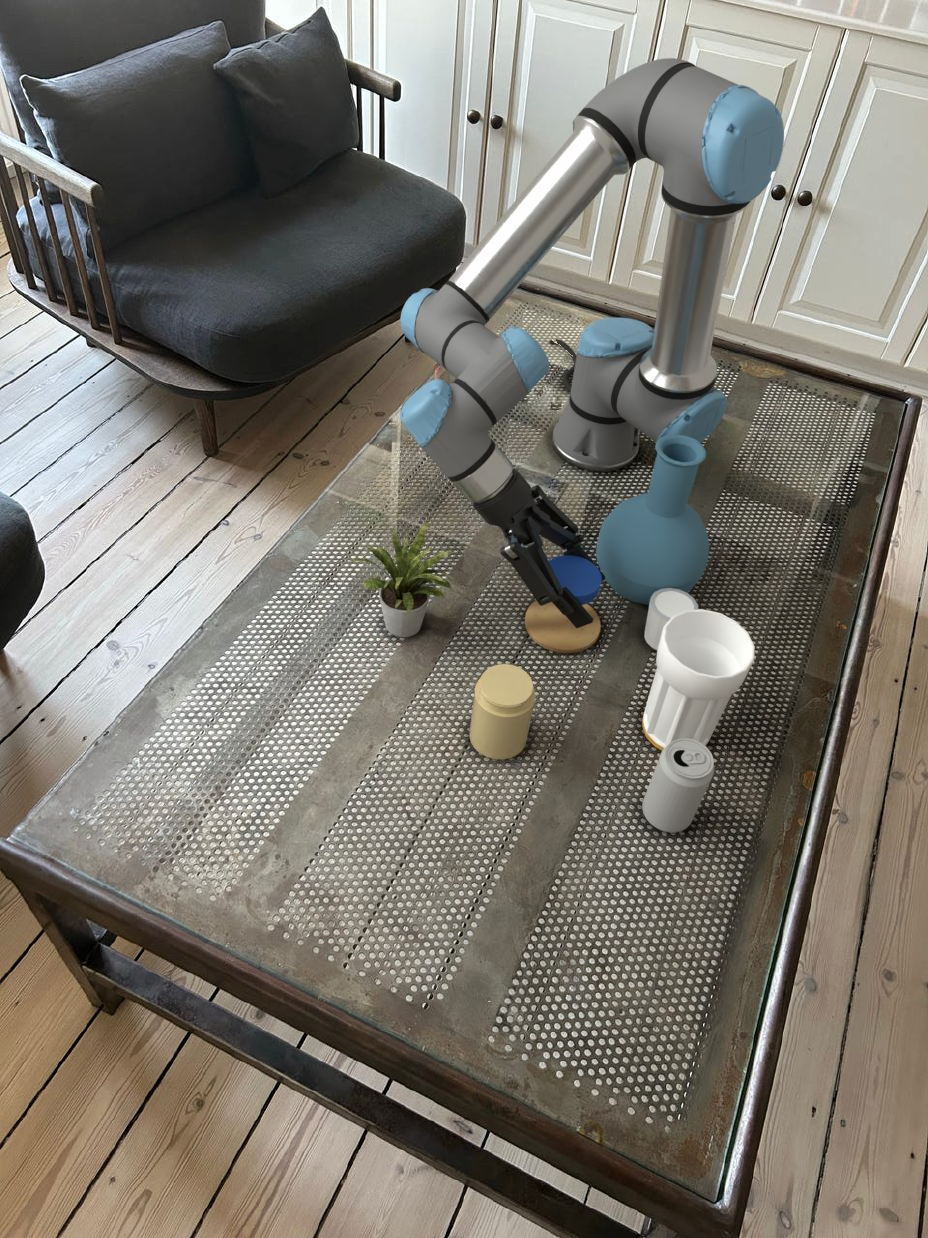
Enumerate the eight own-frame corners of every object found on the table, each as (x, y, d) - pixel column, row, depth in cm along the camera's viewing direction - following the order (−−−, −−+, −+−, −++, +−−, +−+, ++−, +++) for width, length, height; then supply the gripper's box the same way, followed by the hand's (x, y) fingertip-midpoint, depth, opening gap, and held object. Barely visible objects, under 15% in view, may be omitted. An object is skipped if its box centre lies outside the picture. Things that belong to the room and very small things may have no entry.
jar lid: (611, 589, 137) (614, 579, 136) (571, 615, 133) (573, 605, 132) (569, 557, 141) (571, 547, 140) (529, 581, 137) (530, 571, 136)
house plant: (370, 679, 134) (371, 595, 122) (331, 611, 142) (329, 526, 130) (463, 647, 139) (473, 563, 127) (421, 583, 147) (426, 499, 135)
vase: (708, 566, 154) (754, 435, 136) (679, 635, 143) (725, 503, 125) (609, 531, 158) (641, 400, 140) (574, 596, 147) (603, 462, 129)
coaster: (512, 607, 145) (513, 604, 144) (578, 591, 148) (579, 587, 148) (545, 661, 138) (545, 657, 137) (613, 642, 142) (614, 638, 141)
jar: (460, 721, 130) (466, 669, 122) (512, 706, 132) (521, 654, 124) (483, 766, 125) (490, 715, 117) (536, 750, 128) (547, 699, 120)
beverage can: (636, 792, 124) (656, 735, 115) (685, 790, 125) (709, 734, 116) (646, 836, 120) (668, 781, 111) (697, 835, 121) (723, 779, 112)
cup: (630, 692, 135) (657, 605, 123) (711, 698, 136) (747, 612, 123) (637, 760, 128) (667, 674, 115) (723, 766, 128) (763, 681, 115)
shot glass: (690, 628, 145) (702, 595, 139) (682, 661, 140) (694, 628, 135) (645, 615, 146) (655, 581, 141) (635, 647, 141) (645, 613, 136)
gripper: (492, 451, 138) (584, 563, 148) (448, 546, 124) (554, 662, 133) (533, 429, 134) (626, 545, 143) (493, 524, 119) (599, 646, 129)
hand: (591, 602), depth 138 cm, fingers closed on jar lid, 8 cm apart
